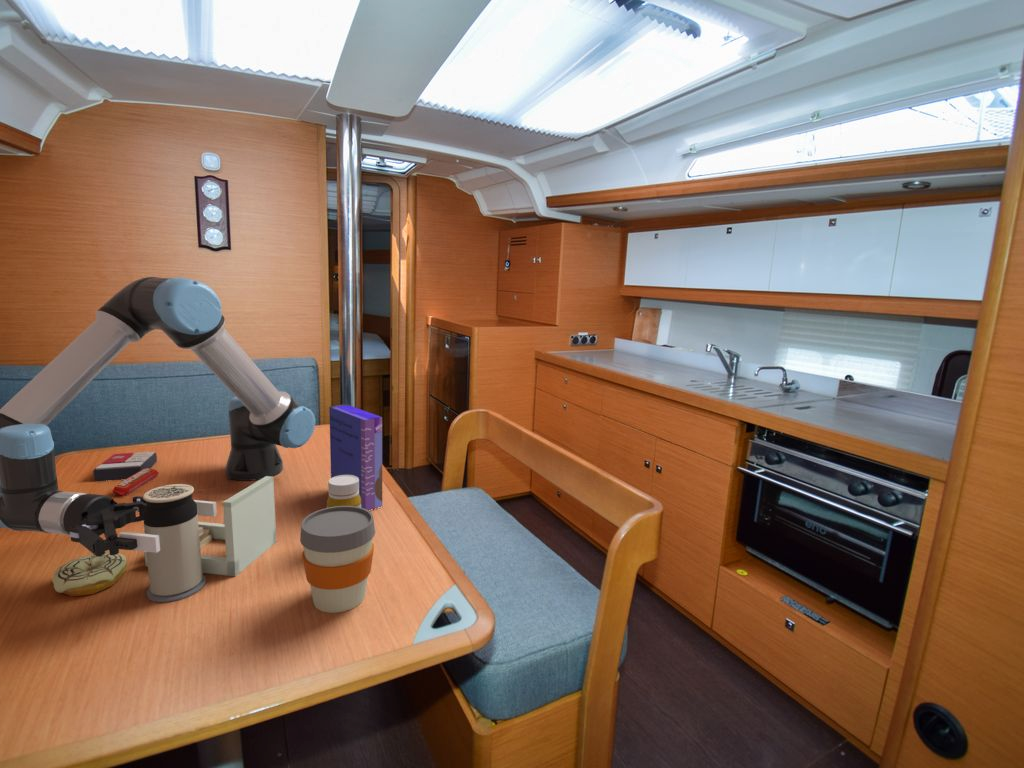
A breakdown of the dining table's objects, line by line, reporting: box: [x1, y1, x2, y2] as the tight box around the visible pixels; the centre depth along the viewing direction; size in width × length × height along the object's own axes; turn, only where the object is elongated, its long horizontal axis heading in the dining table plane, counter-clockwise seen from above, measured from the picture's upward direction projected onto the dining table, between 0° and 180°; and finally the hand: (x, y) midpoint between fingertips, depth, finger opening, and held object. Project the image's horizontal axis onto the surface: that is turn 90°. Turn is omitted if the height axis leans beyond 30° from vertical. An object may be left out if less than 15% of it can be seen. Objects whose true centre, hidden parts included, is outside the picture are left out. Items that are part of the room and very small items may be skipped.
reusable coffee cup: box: [299, 506, 376, 614], centre depth 91 cm, size 12×13×15 cm
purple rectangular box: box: [328, 403, 383, 511], centre depth 132 cm, size 17×5×24 cm, turn 47°
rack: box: [143, 476, 277, 577], centre depth 103 cm, size 19×14×15 cm
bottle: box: [326, 475, 361, 508], centre depth 109 cm, size 7×7×15 cm
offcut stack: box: [199, 527, 213, 549], centre depth 105 cm, size 7×10×4 cm, turn 173°
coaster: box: [146, 573, 206, 603], centre depth 93 cm, size 9×9×1 cm
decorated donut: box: [51, 551, 128, 597], centre depth 93 cm, size 10×11×4 cm
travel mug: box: [142, 483, 203, 596], centre depth 91 cm, size 8×8×18 cm
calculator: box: [93, 451, 158, 482], centre depth 146 cm, size 11×4×15 cm
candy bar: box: [111, 467, 160, 496], centre depth 137 cm, size 16×4×3 cm, turn 6°
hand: (188, 525), depth 90 cm, fingers open, 13 cm apart
